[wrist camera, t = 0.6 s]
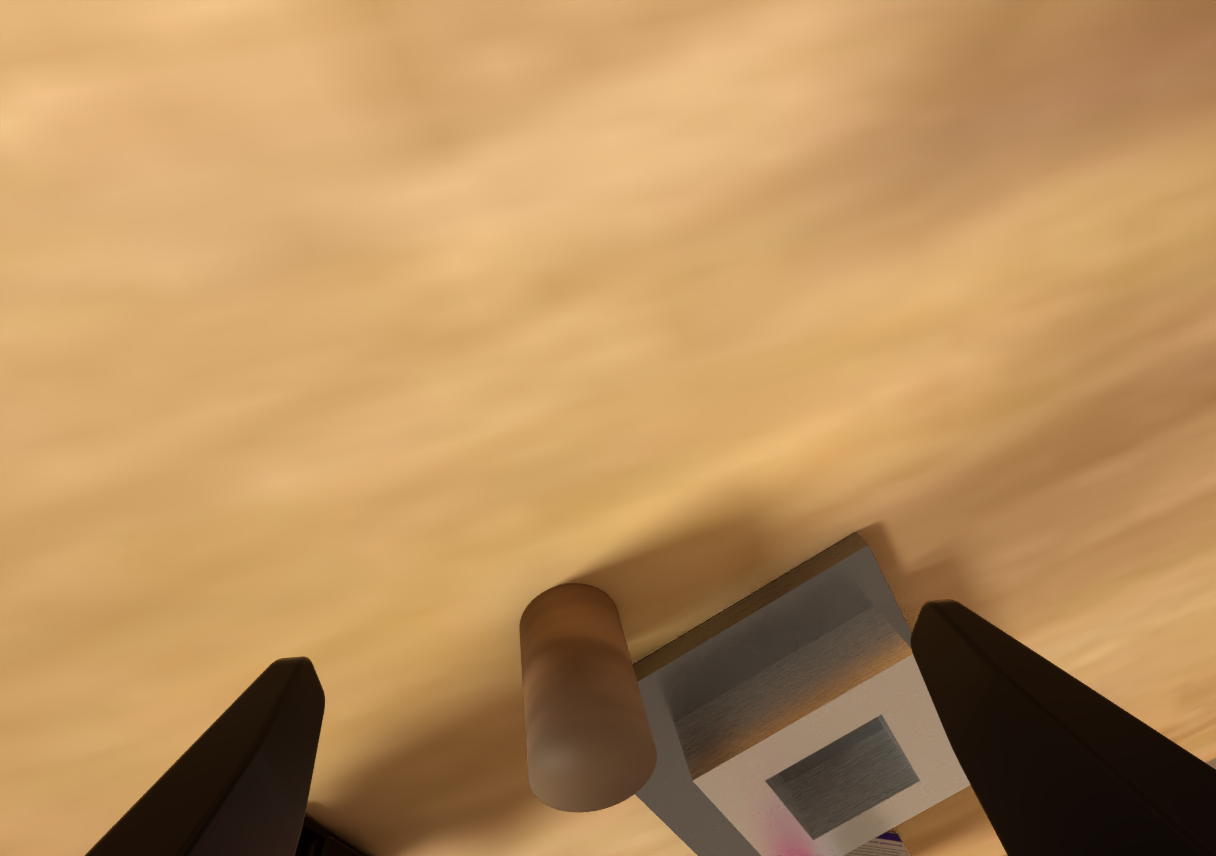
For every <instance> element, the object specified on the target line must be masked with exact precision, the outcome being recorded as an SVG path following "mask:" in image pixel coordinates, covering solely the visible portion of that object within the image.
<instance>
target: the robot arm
mask: <svg viewBox="0 0 1216 856" xmlns="http://www.w3.org/2000/svg"><path fill="white" fill-rule="evenodd" d="M910 643H911V649H912V653H913V656H914V658H915V660H916V663H917V665H918V668H919V670H920V673H921V675H922V677H923V680H924V682H925V685H926V687H927V690H928V692H929V694H930V697H931V699H932V702H933V704H934V707H935V709H936V711H937V714H938V716H939V719H940V721H941V724H942V726H943V728H944V731H945V733H946V736H947V738H948V740H949V742H950V745H951V747H952V749H953V751H954V753H955V755H956V757H957V759H958V761H959V763H960V765H961V767H962V769H963V771H964V773H965V775H966V777H967V779H968V781H969V783H970V785H971V786H972V788H973V790H974V792H975V794H976V796H977V798H978V800H979V802H980V804H981V805H982V807H983V809H984V811H985V813H986V815H987V817H988V819H989V821H990V822H991V824H992V826H993V828H994V830H995V832H996V834H997V836H998V838H999V840H1000V841H1001V843H1002V845H1003V847H1004V849H1005V851H1006V853H1007V855H1008V856H1216V769H1214V768H1213V767H1211V766H1209V765H1208V764H1206V763H1205V762H1203V761H1202V760H1200V759H1199V758H1197V757H1196V756H1194V755H1193V754H1191V753H1190V752H1188V751H1187V750H1185V749H1183V748H1182V747H1180V746H1179V745H1177V744H1176V743H1174V742H1173V741H1171V740H1170V739H1168V738H1167V737H1165V736H1163V735H1162V734H1160V733H1159V732H1157V731H1156V730H1154V729H1153V728H1151V727H1150V726H1148V725H1147V724H1145V723H1143V722H1142V721H1140V720H1139V719H1137V718H1136V717H1134V716H1133V715H1131V714H1130V713H1128V712H1127V711H1125V710H1123V709H1122V708H1120V707H1119V706H1117V705H1116V704H1114V703H1113V702H1111V701H1110V700H1108V699H1107V698H1105V697H1104V696H1102V695H1100V694H1099V693H1097V692H1096V691H1094V690H1093V689H1091V688H1090V687H1088V686H1087V685H1085V684H1084V683H1082V682H1080V681H1079V680H1077V679H1076V678H1074V677H1073V676H1071V675H1070V674H1068V673H1067V672H1065V671H1064V670H1062V669H1060V668H1059V667H1057V666H1056V665H1054V664H1053V663H1051V662H1050V661H1048V660H1047V659H1045V658H1044V657H1042V656H1040V655H1039V654H1037V653H1036V652H1034V651H1033V650H1031V649H1030V648H1028V647H1027V646H1025V645H1024V644H1022V643H1020V642H1019V641H1017V640H1016V639H1014V638H1013V637H1011V636H1010V635H1008V634H1007V633H1005V632H1004V631H1002V630H1001V629H999V628H997V627H996V626H994V625H993V624H991V623H990V622H988V621H987V620H985V619H984V618H982V617H981V616H979V615H977V614H976V613H974V612H973V611H971V610H970V609H968V608H967V607H965V606H964V605H962V604H960V603H959V602H957V601H954V600H936V601H928V602H926V603H925V604H924V605H923V606H922V608H921V611H920V614H919V616H918V619H917V621H916V624H915V626H914V629H913V632H912V634H911V641H910ZM324 709H325V695H324V691H323V688H322V686H321V683H320V681H319V678H318V676H317V674H316V671H315V669H314V666H313V664H312V662H311V660H310V659H309V658H307V657H292V658H282V659H278V660H276V661H275V662H273V663H272V664H271V665H270V666H269V667H268V668H267V669H266V670H265V671H264V672H263V673H262V674H261V675H260V676H259V677H258V678H257V679H256V680H255V681H254V682H253V683H252V684H251V685H250V686H249V687H248V688H247V689H246V690H245V691H244V692H243V693H242V694H241V695H240V696H239V697H238V698H237V700H236V701H235V702H234V703H233V704H232V705H231V706H230V707H229V708H228V709H227V710H226V711H225V712H224V713H223V714H222V715H221V716H220V717H219V718H218V719H217V720H216V721H215V722H214V723H213V724H212V725H211V726H210V727H209V728H208V729H207V730H206V731H205V732H204V733H203V734H202V735H201V737H200V738H199V739H198V740H197V741H196V742H195V743H194V744H193V745H192V746H191V747H190V748H189V749H188V750H187V751H186V752H185V753H184V754H183V755H182V756H181V757H180V758H179V759H178V760H177V761H176V762H175V763H174V764H173V765H172V766H171V767H170V768H169V769H168V770H167V771H166V772H165V774H164V775H163V776H162V777H161V778H160V779H159V780H158V781H157V782H156V783H155V784H154V785H153V786H152V787H151V788H150V789H149V790H148V791H147V792H146V793H145V794H144V795H143V796H142V797H141V798H140V799H139V800H138V801H137V802H136V803H135V804H134V805H133V806H132V807H131V808H130V809H129V810H128V812H127V813H126V814H125V815H124V816H123V817H122V818H121V819H120V820H119V821H118V822H117V823H116V824H115V825H114V826H113V827H112V828H111V829H110V830H109V831H108V832H107V833H106V834H105V835H104V836H103V837H102V838H101V839H100V840H99V841H98V842H97V843H96V844H95V845H94V846H93V847H92V849H91V850H90V851H89V852H88V853H87V854H86V855H85V856H367V855H366V854H364V853H362V852H361V851H359V850H358V849H356V848H355V847H353V846H351V845H350V844H348V843H347V842H345V841H344V840H342V839H340V838H339V837H337V836H336V835H334V834H333V833H331V832H329V831H328V830H326V829H325V828H323V827H321V826H320V825H318V824H317V823H315V822H314V821H312V820H310V819H309V818H307V817H306V816H305V812H306V807H307V802H308V796H309V791H310V785H311V780H312V774H313V769H314V764H315V758H316V753H317V747H318V742H319V736H320V731H321V725H322V720H323V715H324Z"/></svg>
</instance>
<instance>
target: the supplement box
mask: <svg viewBox="0 0 1216 856" xmlns="http://www.w3.org/2000/svg"><path fill="white" fill-rule="evenodd" d="M843 856H910V854H909V852H908V850H907V849H906V847H905V845H904V844H903V842H902V841H901V839H900V837H899V835H898V834H897V833H894V832H889V831H887V832H885V833H883V834H881V835H879V836H878V837H876V838H874V839H872V840H870V841H869V842H867V843H865V844H863V845H861V846H859V847H858V848H856V849H854V850H852V851H850V852H849V853H847V854H845V855H843Z"/></svg>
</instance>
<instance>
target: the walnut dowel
mask: <svg viewBox="0 0 1216 856" xmlns="http://www.w3.org/2000/svg"><path fill="white" fill-rule="evenodd" d="M520 645H521V662H522V680H523V697H524V714H525V732H526V749H527V766H528V781H529V786H530V788H531V790H532V792H533V793H534V795H535V796H536V797H537V798H538V799H539V800H540V801H541V802H543V803H544V804H546V805H548V806H550V807H552V808H555V809H557V810H562V811H567V812H590V811H597V810H601V809H605V808H608V807H611V806H613V805H616V804H618V803H620V802H622V801H624V800H626V799H628V798H629V797H631V796H632V795H634V794H635V793H636V792H638V791H639V790H640V789H641V788H642V787H643V786H644V785H645V784H646V782H647V781H648V780H649V779H650V777H651V775H652V774H653V771H654V769H655V766H656V762H657V751H656V747H655V744H654V740H653V737H652V733H651V729H650V726H649V722H648V719H647V715H646V712H645V708H644V704H643V701H642V697H641V694H640V690H639V686H638V683H637V679H636V676H635V672H634V669H633V665H632V661H631V658H630V654H629V651H628V647H627V643H626V640H625V636H624V633H623V629H622V626H621V622H620V618H619V615H618V611H617V608H616V605H615V603H614V602H613V600H612V599H611V598H610V597H609V596H608V595H607V594H606V593H605V592H603V591H602V590H600V589H598V588H595V587H593V586H589V585H584V584H566V585H560V586H557V587H554V588H551V589H549V590H547V591H545V592H543V593H541V594H540V595H539V596H537V597H536V598H535V599H534V600H532V601H531V603H530V604H529V605H528V606H527V608H526V609H525V611H524V613H523V615H522V617H521V620H520Z"/></svg>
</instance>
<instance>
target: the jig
mask: <svg viewBox="0 0 1216 856" xmlns="http://www.w3.org/2000/svg"><path fill="white" fill-rule="evenodd" d="M911 634H912V633H911V631H910V629H909V627H908V625H907V623H906V620H905V618H904V616H903V614H902V612H901V610H900V608H899V606H898V604H897V602H896V600H895V598H894V596H893V594H892V592H891V590H890V588H889V586H888V584H887V582H886V580H885V578H884V576H883V574H882V572H881V570H880V567H879V565H878V563H877V561H876V559H875V557H874V555H873V553H872V551H871V549H870V547H869V545H868V544H867V543H866V542H865V541H864V540H863V539H862V538H861V537H860V536H859V535H858V534H857V533H856V532H855V533H853V534H852V535H850V536H848V537H847V538H845V539H843V540H842V541H840V542H838V543H837V544H835V545H833V546H832V547H830V548H828V549H827V550H825V551H823V552H822V553H820V554H818V555H817V556H815V557H813V558H812V559H810V560H808V561H807V562H805V563H803V564H802V565H800V566H798V567H797V568H795V569H793V570H792V571H790V572H788V573H787V574H785V575H783V576H782V577H780V578H778V579H776V580H775V581H773V582H771V583H770V584H768V585H766V586H765V587H763V588H761V589H760V590H758V591H756V592H755V593H753V594H751V595H750V596H748V597H746V598H745V599H743V600H741V601H740V602H738V603H736V604H735V605H733V606H731V607H730V608H728V609H726V610H725V611H723V612H721V613H720V614H718V615H716V616H715V617H713V618H711V619H710V620H708V621H706V622H705V623H703V624H701V625H700V626H698V627H696V628H695V629H693V630H691V631H690V632H688V633H686V634H685V635H683V636H681V637H680V638H678V639H676V640H674V641H673V642H671V643H669V644H668V645H666V646H664V647H663V648H661V649H659V650H658V651H656V652H654V653H653V654H651V655H649V656H648V657H646V658H644V659H643V660H641V661H639V662H638V663H636V664H634V665H633V669H634V672H635V676H636V679H637V683H638V686H639V690H640V694H641V697H642V701H643V704H644V708H645V712H646V715H647V719H648V722H649V726H650V729H651V733H652V737H653V740H654V744H655V747H656V751H657V762H656V766H655V769H654V771H653V774H652V775H651V777H650V779H649V780H648V781H647V782H646V784H645V785H644V786H643V787H642V788H641V789H640V790H639V791H638V792H636V793H635V795H636V796H637V797H638V798H639V799H640V800H642V801H643V802H644V803H645V804H646V805H647V806H648V807H649V808H650V809H651V810H652V811H653V812H654V813H655V814H656V815H657V816H658V817H659V818H660V819H661V820H662V821H663V822H664V823H665V824H666V825H667V826H668V827H669V828H670V829H671V830H672V831H673V832H674V833H675V834H676V835H677V836H678V837H679V838H680V839H681V840H683V841H684V842H685V843H686V844H687V845H688V846H689V847H690V848H691V849H692V850H693V851H694V852H695V853H696V854H697V855H698V856H843V855H845V854H847V853H849V852H850V851H852V850H854V849H856V848H858V847H859V846H861V845H863V844H865V843H867V842H869V841H870V840H872V839H874V838H876V837H878V836H879V835H881V834H883V833H885V832H887V831H888V830H890V829H892V828H894V827H896V826H897V825H899V824H901V823H903V822H905V821H907V820H908V819H910V818H912V817H914V816H916V815H917V814H919V813H921V812H923V811H925V810H926V809H928V808H930V807H932V806H934V805H936V804H937V803H939V802H941V801H943V800H945V799H946V798H948V797H950V796H952V795H954V794H955V793H957V792H959V791H961V790H963V789H964V788H966V787H968V786H970V783H969V781H968V779H967V777H966V775H965V773H964V771H963V769H962V767H961V765H960V763H959V761H958V759H957V757H956V755H955V753H954V751H953V749H952V747H951V745H950V742H949V740H948V738H947V736H946V733H945V731H944V728H943V726H942V724H941V721H940V719H939V716H938V714H937V711H936V709H935V707H934V704H933V702H932V699H931V697H930V694H929V692H928V690H927V687H926V685H925V682H924V680H923V677H922V675H921V673H920V670H919V668H918V665H917V663H916V660H915V658H914V656H913V653H912V649H911V643H910V641H911Z"/></svg>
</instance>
